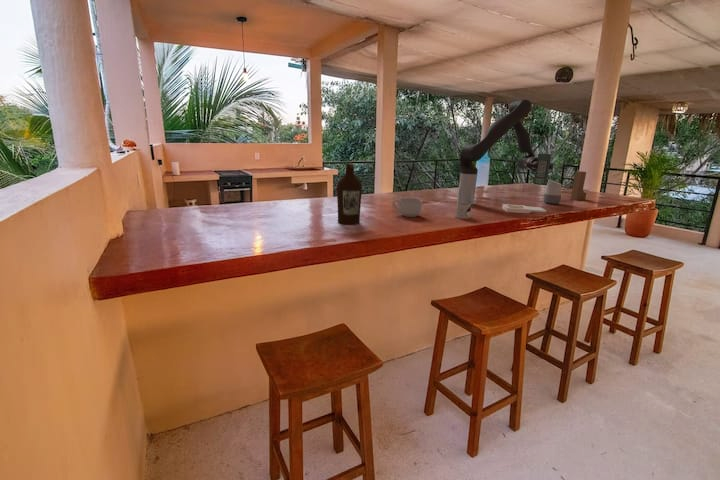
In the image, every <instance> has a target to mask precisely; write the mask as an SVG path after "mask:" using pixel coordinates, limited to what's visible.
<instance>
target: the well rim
mask: <svg viewBox="0 0 720 480" xmlns="http://www.w3.org/2000/svg"><path fill="white" fill-rule="evenodd" d="M526 206H527V205H522V204H507V203H505V204H504V203H503V204H502V206H501V207H502V210H505V212H506V213H514V214H515V213H517V214H518V213H519V214H520V213H521V214H531V213H532V212H531V209H529V208H528V207H526Z"/></svg>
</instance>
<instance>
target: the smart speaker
mask: <svg viewBox="0 0 720 480" xmlns="http://www.w3.org/2000/svg"><path fill="white" fill-rule="evenodd" d="M562 187H563V186H562V183H560V182H557V181H555V180H552V179H547V183H546V187H545V189H544V190H545V191H544V193H543V203H545V204H547V205H558V204H560V202H561V199H562Z"/></svg>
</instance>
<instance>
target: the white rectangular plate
mask: <svg viewBox="0 0 720 480" xmlns="http://www.w3.org/2000/svg"><path fill="white" fill-rule="evenodd" d="M525 206H526V207H528V208H529V209H531V212H530V213H543V214H545V213H547V210H546V209H545V208H543V207H540V206H530V205H529V206H527V205H525Z"/></svg>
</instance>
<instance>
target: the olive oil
mask: <svg viewBox="0 0 720 480" xmlns="http://www.w3.org/2000/svg"><path fill="white" fill-rule="evenodd" d="M345 166H346V167H345V173H344V174H343V175H342V176H341V178H340V179H338V182H337V184H336V196H337V198H336V199H337V222H338V224H339V225H340V224H341V225H346V226H348V225H349V226H352V225H358V224H360V219H361V204H362V203H361V202H362V191H363V185H362V182H361V180H360V179H359V177H358V176H357V175H356V174H355V167H354V166H355V165H354V163H346V164H345Z"/></svg>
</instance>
